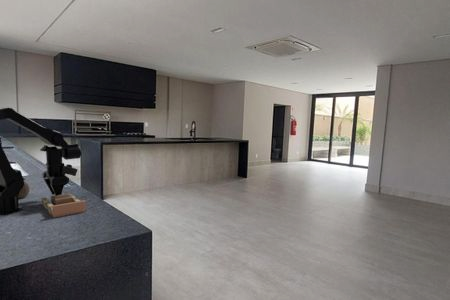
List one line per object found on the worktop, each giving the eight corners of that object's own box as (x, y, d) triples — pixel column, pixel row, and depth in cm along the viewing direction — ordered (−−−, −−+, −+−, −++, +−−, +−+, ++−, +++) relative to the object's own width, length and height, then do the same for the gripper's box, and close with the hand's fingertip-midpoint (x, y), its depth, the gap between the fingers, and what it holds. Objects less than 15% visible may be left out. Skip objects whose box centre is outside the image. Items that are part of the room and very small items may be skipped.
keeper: (73, 207, 111) (72, 197, 111) (56, 210, 107) (55, 200, 107) (67, 202, 117) (67, 193, 117) (51, 205, 113) (50, 196, 113)
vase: (33, 195, 127) (32, 177, 126) (21, 200, 120) (19, 180, 119) (19, 195, 127) (18, 176, 126) (6, 199, 120) (5, 179, 120)
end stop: (86, 211, 107) (86, 201, 106) (53, 217, 99) (53, 206, 99) (85, 210, 108) (84, 200, 107) (52, 216, 100) (52, 205, 100)
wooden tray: (85, 210, 108) (84, 203, 107) (52, 216, 100) (52, 209, 100) (70, 199, 122) (70, 193, 122) (41, 204, 114) (41, 198, 114)
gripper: (81, 161, 116) (83, 197, 118) (69, 157, 129) (70, 189, 131) (51, 164, 108) (53, 202, 110) (41, 159, 122) (43, 193, 123)
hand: (56, 196), depth 119 cm, fingers open, 8 cm apart
